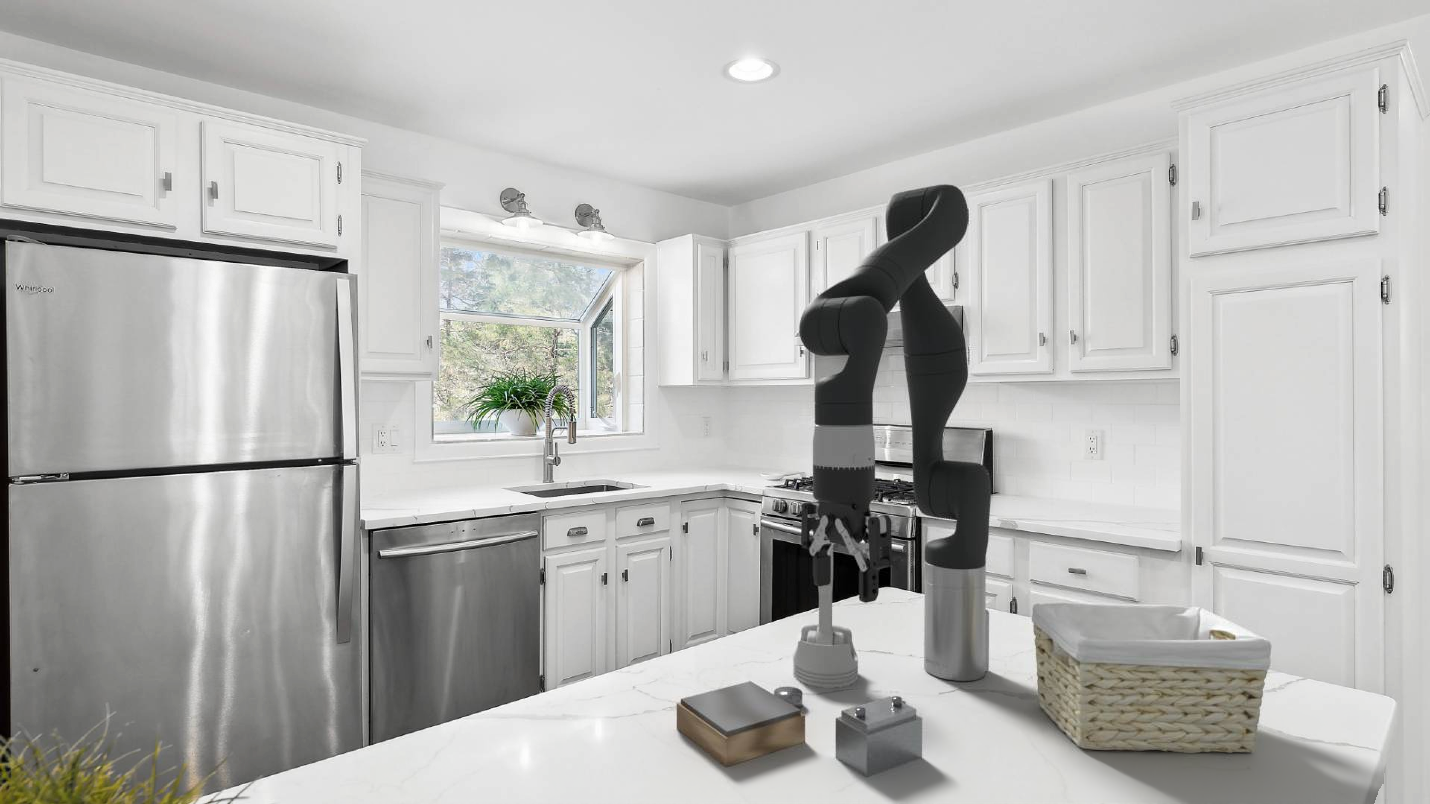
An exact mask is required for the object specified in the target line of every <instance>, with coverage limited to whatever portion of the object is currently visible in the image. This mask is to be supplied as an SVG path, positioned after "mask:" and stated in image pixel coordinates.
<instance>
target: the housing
mask: <svg viewBox="0 0 1430 804" xmlns="http://www.w3.org/2000/svg"><path fill="white" fill-rule="evenodd" d="M902 701H903V697H901V696H899V695H898V696H897V695H894V696H886V697H884V698H883V697H882V698H879V699H877V700H874V701H873V700H872V701H869V702H867V703H863V704H859V705H855V706H852V707H849V708H846V709H842V710H841V713H840V714H841V715H840V716H839V717H836V718H835V758H836V759H837V760H839V761H840V762H841V763H843V764H845V765H846V766H848V767H850V768H851V769H853V770H854V771H856V772H857V773H859V774H861V775H862V776H864V777H865V778H869V777H872V776H875V775H877V774H880V773H883V772H885V771H889V770H891V769H895V768H896V767H900V766H903V765H905V764H908V763H911V762H913V761H916V760H919V759H922V758H923V717H922V716H919V715H917V709H916V708H914V707H912V706H911V705H908V704H907V703H906V704H904V703H902Z"/></svg>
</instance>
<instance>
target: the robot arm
mask: <svg viewBox="0 0 1430 804" xmlns="http://www.w3.org/2000/svg"><path fill="white" fill-rule="evenodd" d="M886 204H887V205H886V207H885V209H886V210H885V228H886V229H885V231H886V237H887V238H886V239H887V242H885V243H884V244H882V245H880V246H879V247H877V248H875V249H874V250H872V251H871V252H870V253H869V254H867V255H866V256H865V257H864V258H863V259H862V260H861V261H860V262H859V263H858V265H857V266H856V267H855V268H854V270H853V271H852V272H851V273H850V274H849V275H848V277H846V278H844V279H842V280H841V281H839V282H836V283H835V284H834V285H832V286H830V287H829V288H827V289H826V290H823V291H822V292H821V293H820V294H818V295H816V296H815V297H814V298H813V299H812V300H810V302H809V304H807V306H806V307H805V308H804V310H803V312H802V315H801V317H800V320H799V325H798V326H799V329H798V331H799V332H798V333H799V337H800V341H801V343H802V344H803V346H804V347H805V349H806V350H808V351H809V352H810V353H812V354H814V355H817V356H822V357H835V356H836V357H837V356H848V358H847V360H846V363H845V365H844V367H843V369H842V370H841V371H840V372H838V373H834V374H831V375H827V376H824V377H821V378H819V379H818V380H817V382H816V383H815V387H814V430H813V439H812V496H813V498H814V500H813V501H809V502H803V503H802V505H801V526H800V527H801V530H800V545H801V547H802V548H803V549H807V550H809V554H810V555H811V556H812V577H813V584H814V585H815V586H817V587H818V586H825V585H829V584H830V582H831V556H830V555H827V553H829V552H830V551H831V549H832V547H833V546H834V545H835V544H839V545H840V546H842V547H846V548H847V550H848V553H849V554H850V555H851V556H854V558H855V560H856V563H857V566H858V567H859V570H858V600H859V601H860V602H862V603H866V604H867V603H872V602H876V600H877V598H878V596H879V593H880V592H879V591H880V590H879V587H880V586H879V580H880V579H879V578H880V577H879V575H880V574H879V572H880V570H881V569H885V568H889V567H892V565H893V563H894V562H893V542H892V541H893V540H892V522H891V521H892V520H891V517H890V515H888V514H885V515H878V516H877V515H876V516H875V515H872V512H871V509H870V504H871V503H872V501H874V499H875V498H876V442H875V441H876V440H875V433H874V425H873V424H874V419H873V418H874V412H873V411H874V401H873V400H874V398H873V396H874V395H873V394H874V388H875V383H876V378H877V375H878V374H877V373H878V371H879V366H880V361H881V359H882V355H883V352H884V348H885V345H886V341H887V336H888V328H889V324H888V323H889V322H888V316H887V315H888V314H889V313H890V312H891V311H892V310H893V309H894V307H895V306H896V304H897V303H898V305H899V312H900V313H899V314H900V323H901V333H902V334H901V335H902V346H903V347H902V349H903V358H904V367H905V368H904V369H905V376H906V383H907V389H908V390H907V391H908V399H909V409H910V422H911V437H912V438H911V440H912V441H911V442H912V445H911V447H912V448H911V449H912V482H913V483H912V485H913V487H912V488H913V495H914V500H915V503H916V504H915V505H916V507H917V508H918V510H919V511H920V513H921V514H923V515H925V516H928V517H931V518H938V519H944V520H945V519H946V520H954V521H956V524H955V531H954V533H952V534H950V535H949V536H945V537H941V538H937V539H933V540H931V541H928V542H927V543H926V544H925V546H924V614H923V615H924V617H923V618H924V620H923V621H924V626H923V627H924V629H923V630H924V637H923V638H924V639H923V641H924V642H923V647H924V648H923V650H924V651H923V653H924V654H923V667H924V670H925V671H926V672H927V673H929V674H930V675H933V677H937V678H939V679H944V680H949V681H956V682H959V681H962V682H968V681H969V682H970V681H976V680H979V679H981V678H984V676H985V675H986V672H987V671H989V670H990V663H989V662H990V612H989V610H987V609H986V606H987V605H986V600H987V599H986V597H987V596H986V588H987V587H986V586H987V585H986V579H987V576H986V573H987V571H986V569H987V566H986V563H987V561H986V560H987V551H988V546H989V539H990V538H989V535H990V534H989V533H990V530H989V529H990V516H991V515H990V514H991V513H990V512H991V500H992V499H991V498H992V486H991V485H992V484H991V479H990V475H989V472H988V470H987V468H986V467H985V466H984V465H983V464H981V463H978V462H972V461H971V462H970V461H961V460H960V461H958V460H946V459H945V458H944V457H945V456H944V449H943V448H944V447H943V446H944V443H943V441H944V433H945V430H946V426H947V423H948V420H949V418H950V417H951V415H952V414H953V413H952V412H953V411H954V410H955V408H956V406H957V404H958V403H959V400H960V399H961V397H962V395H963V393H964V391H965V388H966V385H967V383H968V379H969V368H968V367H969V366H968V356H967V347H966V345H967V344H966V338H965V333H964V331H963V329H962V327H961V326H960V324H959V323H958V321H957V320H956V319H955V316H954V315H953V314H952V313H951V311H949V309H948V308H947V307H946V305H945V304H944V303H943V302H942V300H941V299H940V298H939V297H938V295H937V294H936V293H935V291H934V290H933V288H932V286H931V284H930V283H929V281H928V280H929V279H928V277H927V274H926V270H928V269H929V268H930V267H931V266H932V265H934V264H935V263H936V262H937V261H939V259H941V258H942V257H943V256H945V255H946V254H947V253H948V252H949V251H951V250H952V249H954V248H955V247H956V246H957V245H959V243H960V242H961V241H962V240H963V238H964V236H965V235H966V232H967V228H968V225H969V210H968V208H969V207H968V204H967V200H966V198H965V195H964V193H963V192H962V190H961V189H960V188H959V187H957V186H955V185H953V184H938V185H937V184H936V185H932V186H931V185H930V186H926V187H919V188H915V189H912V190H911V189H910V190H905V191H900V192H897V193H895V194H893V195H892V196H891V197H889V199H888V201H887V203H886ZM815 500H816V501H815ZM811 531H812V537H810V536H811ZM862 541H863V542H864V543H862ZM880 548H881V556H880ZM865 554H866V555H867V557H868V559H867V558H866V555H865Z"/></svg>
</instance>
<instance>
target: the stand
mask: <svg viewBox="0 0 1430 804" xmlns="http://www.w3.org/2000/svg"><path fill="white" fill-rule="evenodd" d="M676 729H677V730H678V731H679V732H681V733H682V734H683V735H684V736H686V737H687V738H688V739H690V741H692V742H694V743H695V744H696V745H697V746H698V747H699V748H701V749H702V750H703V751H705V752H706V753H707V754H709V756H711V757H713V758H714V759H715V760H717V761H718V762H719V763H720V764H722V765H723V766H724V767H726V768H727V767H730V766H734V765H737V764H740V763H743V762H746V761H748V760H752V759H755V758H756V759H757V758H759V757H761V756H765V755H768V754H771V753H773V752H776V751H777V752H778V751H780V750H784V749H787V748H790V747H792V746H795V745H799V744H802V743H805V742H806V714H804V713H802V710H801V709H798V708H796V707H795V706H793V705H791V704H789V703H788V702H786V701H784V700H782V699H781V698H779V697H777V696H775V695H774V693H772V692H770V691H768V690H767V689H765V688H763V687H762V686H760V685H758V684H757V683H755V682H752V681H750V680H749V681H746V682H742V683H739V684H735V685H728V686H726V687H722V688H718V689H714V690H711V691H710V690H709V691H707V692H703V693H698V694H695V695H691V696H686V697H683V698H680V701H679V702H677V703H676Z"/></svg>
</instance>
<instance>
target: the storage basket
mask: <svg viewBox="0 0 1430 804" xmlns="http://www.w3.org/2000/svg"><path fill="white" fill-rule="evenodd" d="M1031 621H1032V624H1033V625H1032V626H1033V634H1034V636H1035V638H1034V646H1035V658H1036V659H1035V660H1036V676H1037V681H1036V683H1037V693H1038V696H1037V699H1038V704H1039V707H1040V708H1041V709H1043V710H1044V712H1045V714H1046V715H1047V716H1048V717H1050V719H1051V720H1052V721H1053V722H1054V723H1055V724H1056V725H1057V727H1058V728H1059V729H1060V730H1061V731H1062V732H1064V733H1066V735H1067V737H1068V739H1070V740H1072V741H1073V742H1074V743H1075V745H1076V746H1078V747H1079V748H1082V749H1086V750H1095V751H1098V750H1099V751H1111V750H1114V751H1115V750H1117V751H1124V750H1126V751H1137V752H1141V751H1148V750H1149V751H1150V750H1152V751H1153V750H1154V751H1162V752H1168V751H1170V752H1174V753H1186V754H1194V753H1201V752H1203V753H1210V752H1221V753H1230V754H1231V753H1253V752H1254V751H1255V748H1256V739H1257V731H1258V727H1259V726H1258V724H1259V723H1260V717H1261V709H1260V708H1261V706H1262V703H1263V699H1262V698H1263V697H1264V691H1263V690H1264V688H1265V685H1266V682H1265V679H1266V678H1267V674H1268V671H1269V670H1270V666H1271V662H1272V661H1271V653H1272V652H1271V651H1272V643H1271V641H1270V640H1269V639H1268V638H1265V637H1263V636H1260V635H1258V634H1257V633H1255V632H1254V631H1251V630H1249V629H1247V628H1244V627H1243V626H1241V625H1239V624H1236V623H1235V622H1232V621H1231V620H1228V619H1226V618H1224V617H1222V616H1219V615H1217V614H1216V613H1213V612H1211V611H1210V610H1206V609H1205V608H1202V607H1200V606H1198V607H1197V606H1196V607H1191V606H1190V607H1189V606H1182V605H1181V606H1180V605H1174V604H1173V605H1171V604H1170V605H1169V604H1140V603H1139V604H1138V603H1137V604H1135V603H1134V604H1131V603H1128V604H1126V603H1122V604H1121V603H1120V604H1119V603H1085V602H1082V603H1081V602H1062V603H1061V602H1059V603H1058V602H1057V603H1043V604H1040V603H1036V604H1034V605H1033V606H1032V614H1031ZM1211 636H1213V637H1214V639H1211Z"/></svg>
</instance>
